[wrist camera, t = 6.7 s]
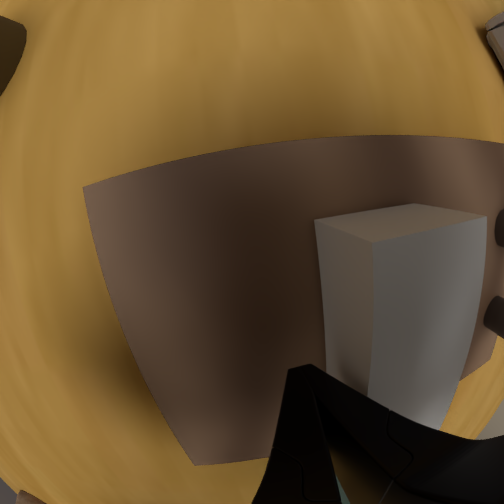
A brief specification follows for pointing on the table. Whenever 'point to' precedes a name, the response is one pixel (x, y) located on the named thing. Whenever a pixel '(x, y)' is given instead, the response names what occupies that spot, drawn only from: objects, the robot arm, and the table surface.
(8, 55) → the olive pepper mill
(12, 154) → the table surface
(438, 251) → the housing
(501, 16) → the stereo radio cassette player
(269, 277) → the board
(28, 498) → the figurine
